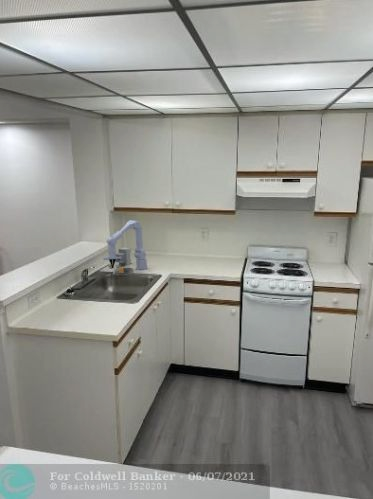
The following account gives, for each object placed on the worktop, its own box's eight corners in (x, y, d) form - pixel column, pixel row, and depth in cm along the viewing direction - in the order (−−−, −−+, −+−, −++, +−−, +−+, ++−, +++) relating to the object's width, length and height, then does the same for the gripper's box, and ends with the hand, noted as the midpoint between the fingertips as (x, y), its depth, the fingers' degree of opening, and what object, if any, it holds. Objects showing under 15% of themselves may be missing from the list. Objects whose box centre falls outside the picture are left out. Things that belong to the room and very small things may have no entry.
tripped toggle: (123, 272, 298) (123, 267, 297) (123, 273, 296) (123, 268, 295) (119, 272, 298) (119, 267, 297) (119, 273, 295) (119, 268, 294)
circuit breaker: (114, 266, 322) (114, 250, 318) (124, 262, 334) (124, 247, 331) (121, 267, 318) (120, 251, 315) (131, 263, 331) (130, 248, 327)
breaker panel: (133, 269, 314) (132, 264, 313) (132, 275, 296) (132, 270, 295) (114, 269, 312) (114, 264, 311) (112, 275, 294) (112, 270, 293)
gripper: (120, 250, 298) (121, 266, 301) (102, 251, 294) (103, 267, 297) (121, 252, 291) (121, 268, 294) (103, 253, 287) (103, 269, 290)
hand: (112, 267), depth 295 cm, fingers closed
